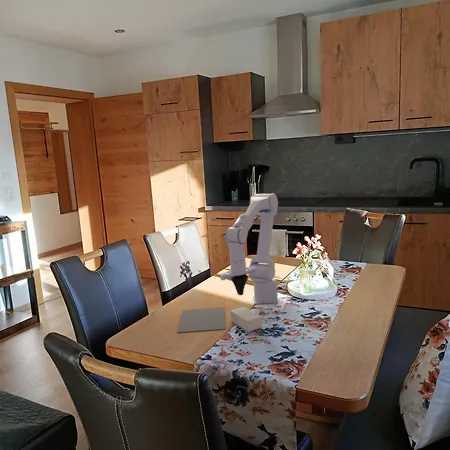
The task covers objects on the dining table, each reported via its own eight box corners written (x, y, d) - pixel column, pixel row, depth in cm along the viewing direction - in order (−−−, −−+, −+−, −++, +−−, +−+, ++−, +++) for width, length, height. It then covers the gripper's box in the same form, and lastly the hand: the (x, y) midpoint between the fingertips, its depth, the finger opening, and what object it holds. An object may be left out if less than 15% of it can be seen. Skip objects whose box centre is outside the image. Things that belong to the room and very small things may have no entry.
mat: (224, 307, 168) (224, 307, 168) (224, 329, 148) (224, 328, 148) (182, 311, 168) (182, 310, 168) (177, 332, 148) (177, 332, 148)
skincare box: (230, 321, 155) (247, 332, 144) (230, 310, 154) (246, 320, 143) (245, 317, 157) (262, 327, 147) (244, 306, 157) (261, 316, 146)
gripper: (248, 253, 160) (251, 287, 163) (215, 260, 154) (218, 295, 156) (258, 257, 154) (261, 292, 157) (224, 264, 148) (226, 301, 150)
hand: (240, 294), depth 156 cm, fingers closed
